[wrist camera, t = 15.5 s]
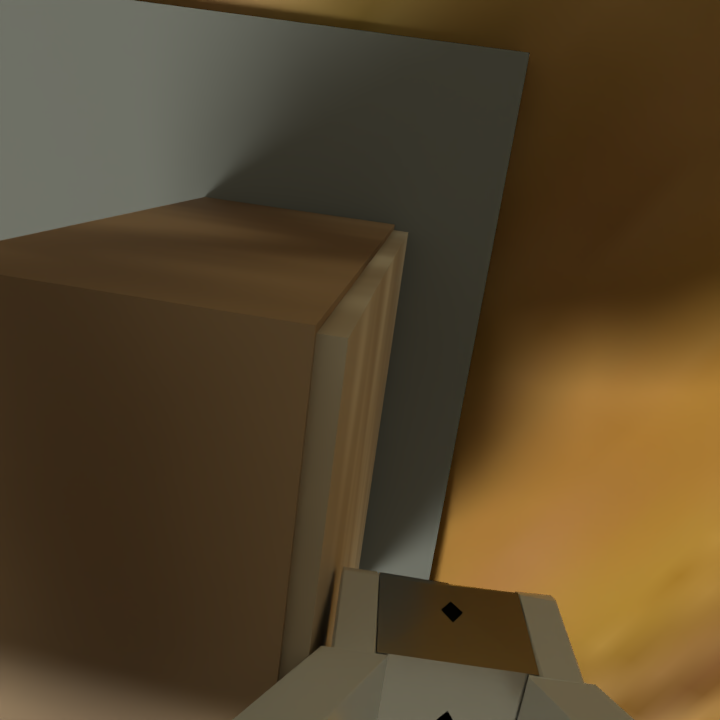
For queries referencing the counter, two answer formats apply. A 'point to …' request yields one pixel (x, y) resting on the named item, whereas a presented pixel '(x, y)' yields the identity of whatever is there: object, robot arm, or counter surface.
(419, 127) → the rubber mat
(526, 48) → the counter surface
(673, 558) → the counter surface
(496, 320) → the counter surface
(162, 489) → the wooden block
